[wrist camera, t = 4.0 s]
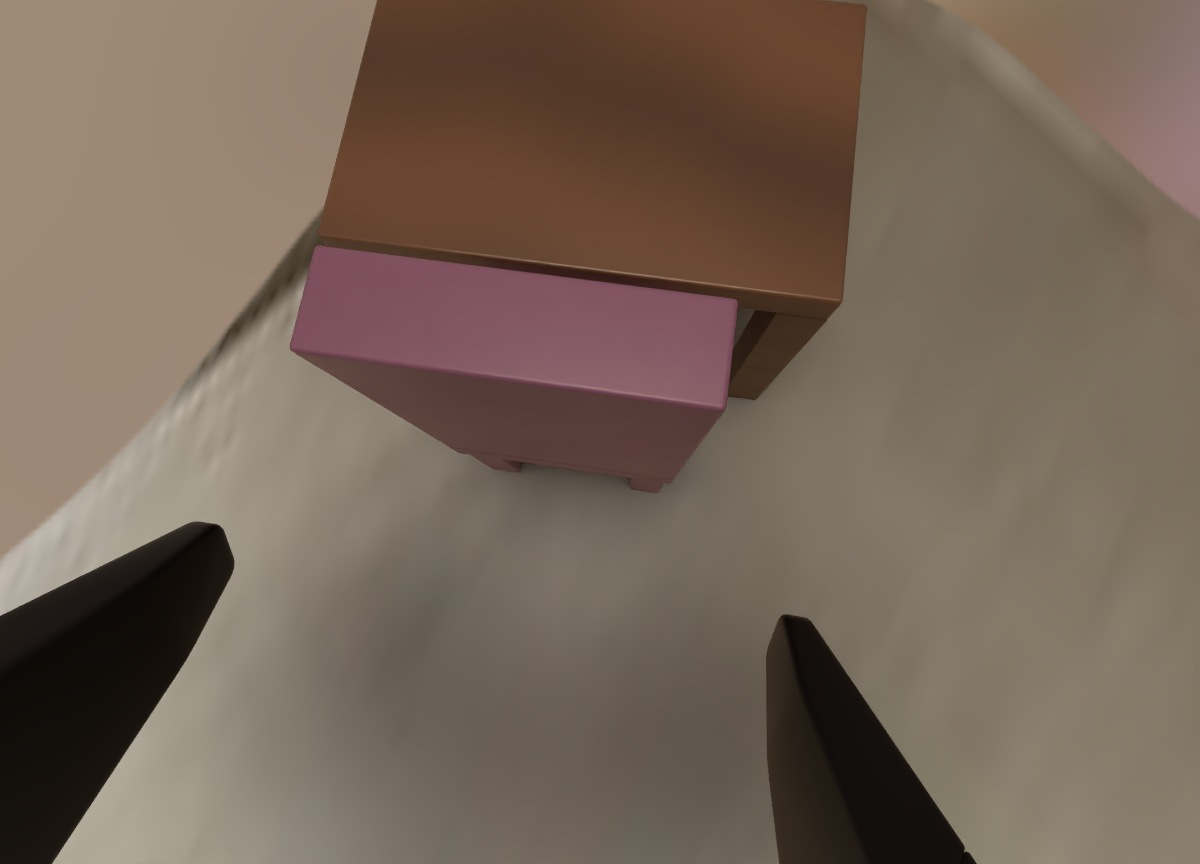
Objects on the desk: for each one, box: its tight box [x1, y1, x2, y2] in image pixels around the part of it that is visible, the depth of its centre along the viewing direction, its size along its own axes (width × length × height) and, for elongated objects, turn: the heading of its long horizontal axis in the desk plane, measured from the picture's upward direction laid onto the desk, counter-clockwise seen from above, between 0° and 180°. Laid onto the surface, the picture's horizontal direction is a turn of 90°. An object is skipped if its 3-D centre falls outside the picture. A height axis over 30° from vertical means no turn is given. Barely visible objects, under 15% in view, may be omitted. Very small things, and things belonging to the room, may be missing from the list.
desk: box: [318, 0, 867, 399], centre depth 18 cm, size 8×12×8 cm, turn 81°
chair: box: [290, 246, 738, 493], centre depth 15 cm, size 6×6×13 cm
